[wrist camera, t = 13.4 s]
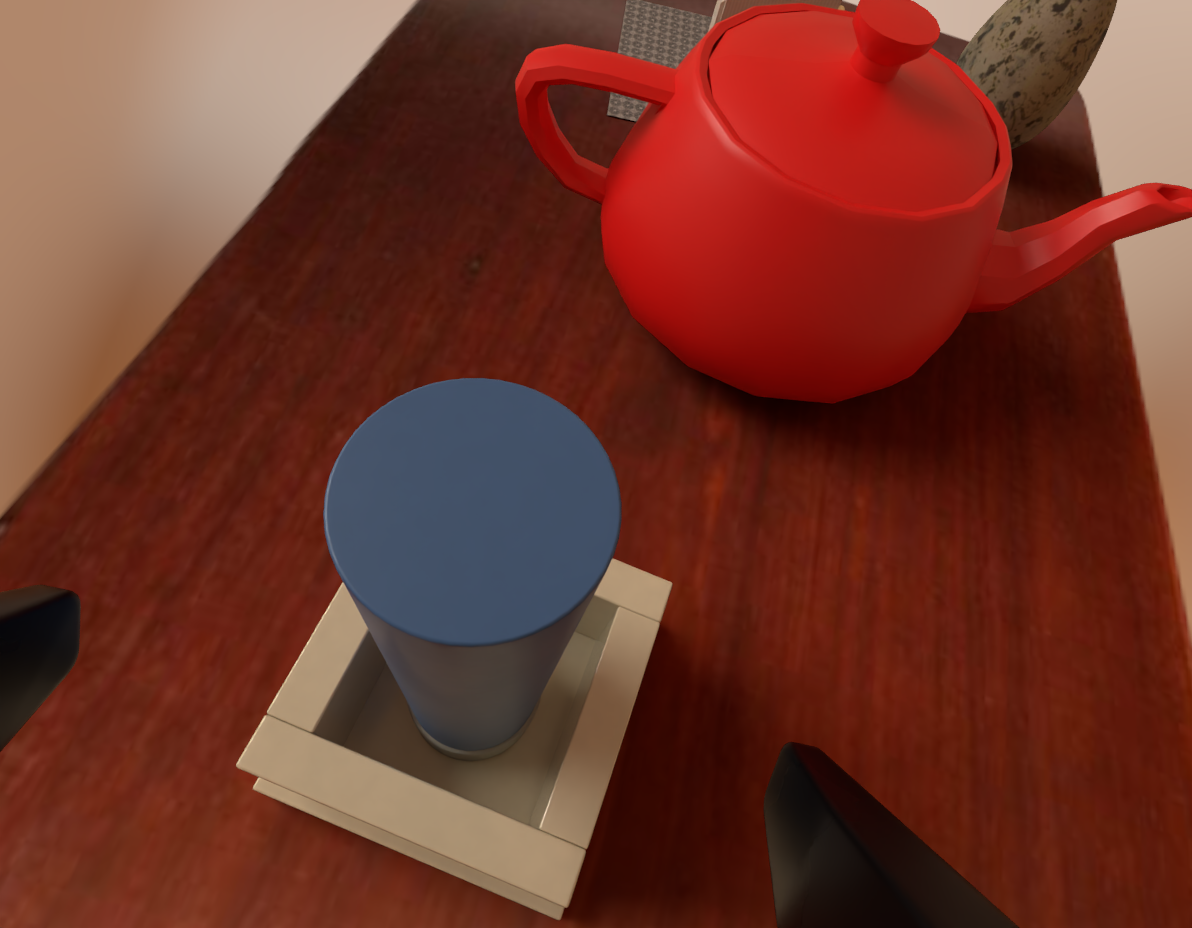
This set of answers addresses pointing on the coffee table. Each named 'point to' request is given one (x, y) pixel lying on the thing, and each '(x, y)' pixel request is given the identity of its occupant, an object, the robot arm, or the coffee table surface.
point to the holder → (455, 787)
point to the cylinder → (472, 549)
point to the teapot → (814, 197)
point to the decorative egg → (1035, 58)
